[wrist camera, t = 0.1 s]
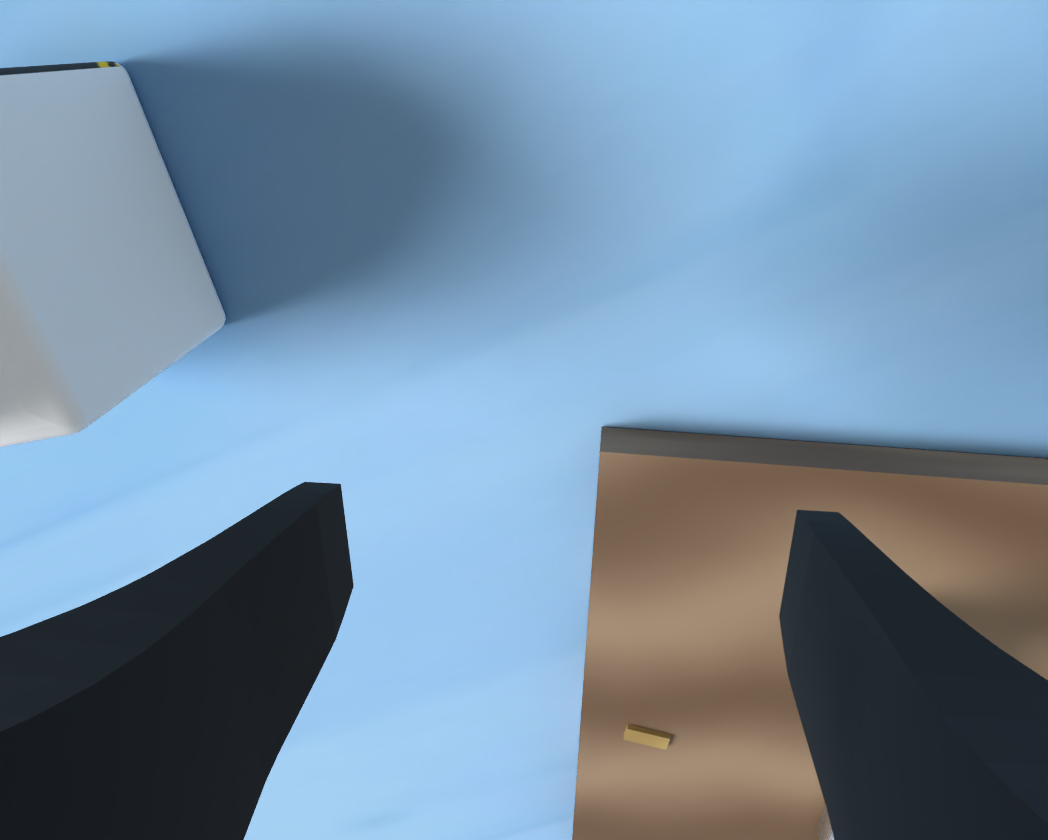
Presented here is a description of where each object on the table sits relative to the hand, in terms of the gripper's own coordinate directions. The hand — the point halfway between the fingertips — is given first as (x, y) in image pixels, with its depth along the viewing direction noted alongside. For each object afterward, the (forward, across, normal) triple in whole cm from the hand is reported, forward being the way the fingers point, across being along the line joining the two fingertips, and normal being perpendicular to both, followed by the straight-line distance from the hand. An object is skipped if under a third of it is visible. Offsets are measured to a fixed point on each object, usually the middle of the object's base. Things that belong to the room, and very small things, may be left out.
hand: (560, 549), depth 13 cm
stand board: (+10, -10, +12) cm, 19 cm away
